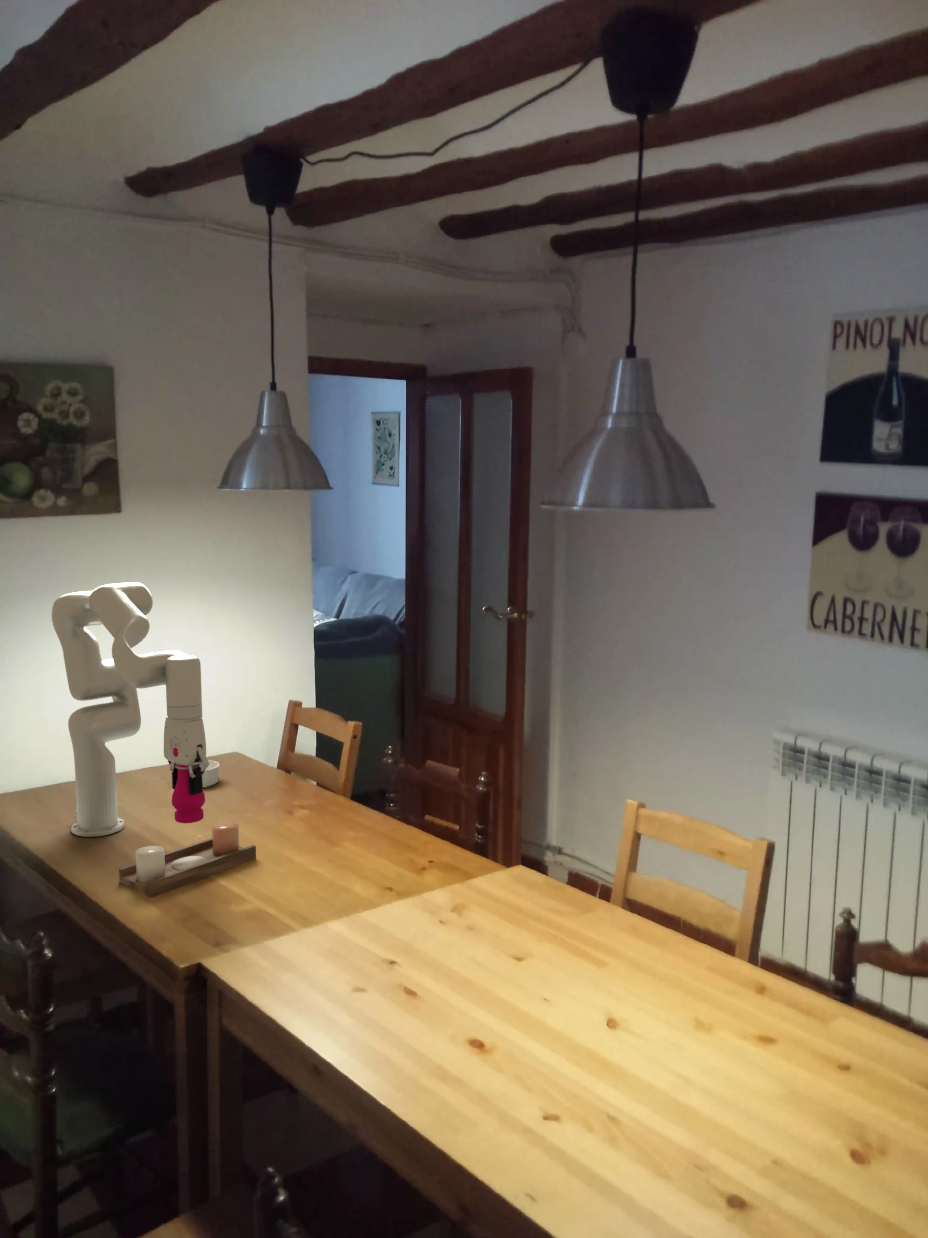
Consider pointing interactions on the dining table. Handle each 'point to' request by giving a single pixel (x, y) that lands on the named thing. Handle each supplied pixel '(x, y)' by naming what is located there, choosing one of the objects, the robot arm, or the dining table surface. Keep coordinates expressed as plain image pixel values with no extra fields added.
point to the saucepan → (211, 773)
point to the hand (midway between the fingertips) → (187, 790)
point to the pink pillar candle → (225, 838)
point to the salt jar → (150, 863)
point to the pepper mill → (186, 797)
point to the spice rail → (187, 867)
